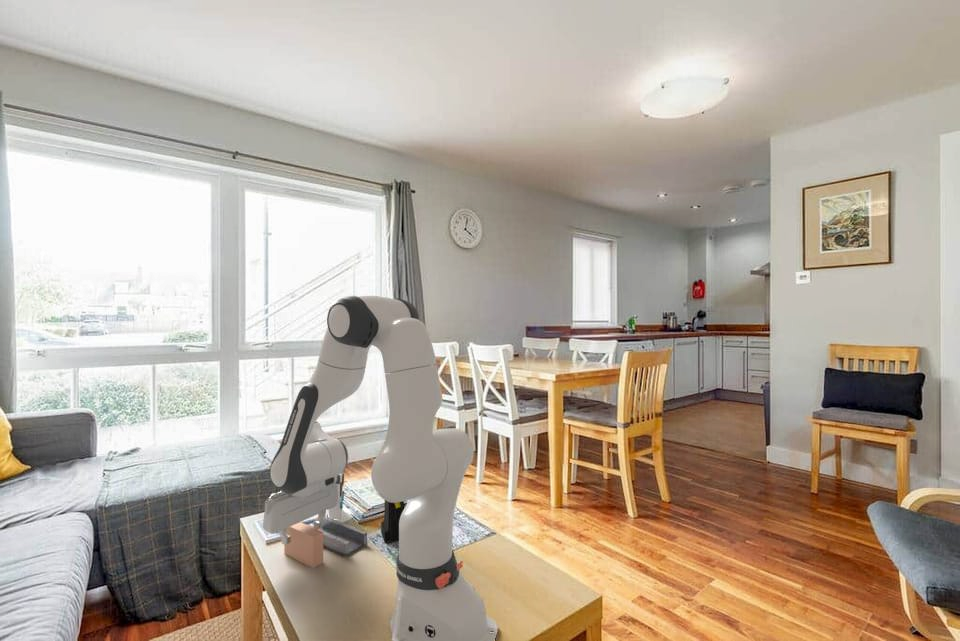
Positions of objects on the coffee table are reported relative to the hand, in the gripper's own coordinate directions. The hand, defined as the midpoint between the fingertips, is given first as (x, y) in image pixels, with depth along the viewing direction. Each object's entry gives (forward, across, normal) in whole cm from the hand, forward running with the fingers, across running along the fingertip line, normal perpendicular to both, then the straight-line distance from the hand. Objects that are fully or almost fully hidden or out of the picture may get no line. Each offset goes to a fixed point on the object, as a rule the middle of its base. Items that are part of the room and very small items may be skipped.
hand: (302, 535), depth 116 cm
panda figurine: (+6, +20, +12) cm, 24 cm away
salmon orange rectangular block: (+6, 0, 0) cm, 6 cm away
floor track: (+6, +10, 0) cm, 12 cm away
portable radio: (+6, +21, -12) cm, 25 cm away
